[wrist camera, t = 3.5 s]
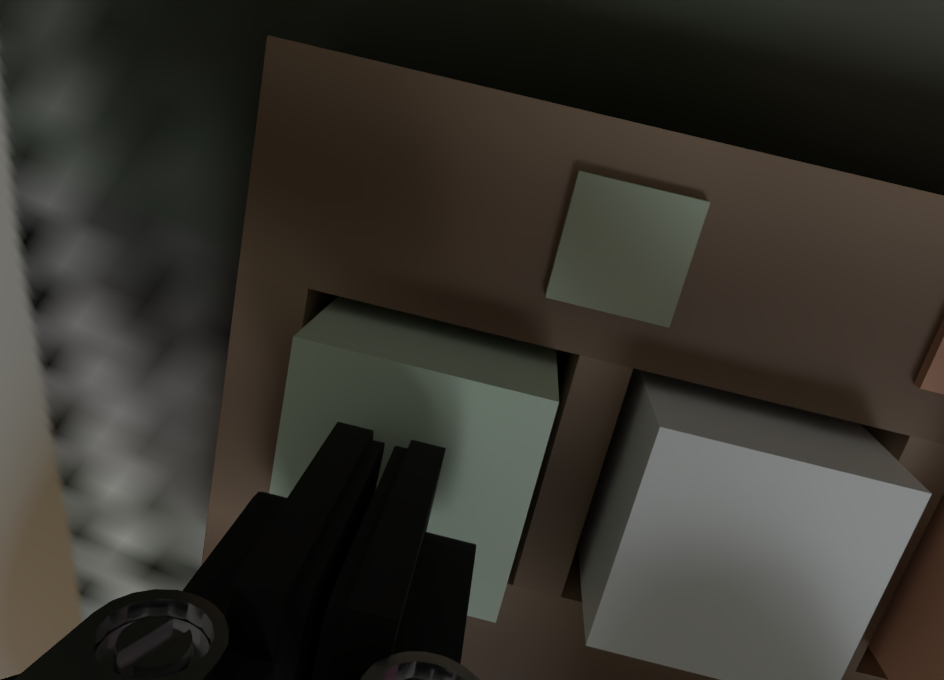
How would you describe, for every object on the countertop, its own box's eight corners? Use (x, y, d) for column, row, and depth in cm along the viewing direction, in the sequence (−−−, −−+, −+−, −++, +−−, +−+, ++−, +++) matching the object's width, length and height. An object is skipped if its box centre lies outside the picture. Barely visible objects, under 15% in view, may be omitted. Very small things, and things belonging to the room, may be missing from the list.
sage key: (344, 290, 13) (293, 336, 11) (555, 341, 13) (559, 401, 10) (312, 477, 15) (258, 562, 12) (504, 525, 14) (495, 622, 12)
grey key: (635, 361, 13) (659, 427, 10) (850, 414, 13) (931, 493, 10) (577, 544, 14) (585, 645, 12) (773, 592, 14) (828, 707, 12)
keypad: (325, 51, 14) (262, 34, 11) (1272, 276, 13) (1490, 325, 10) (247, 574, 17) (184, 672, 14) (984, 760, 17) (1080, 902, 14)
